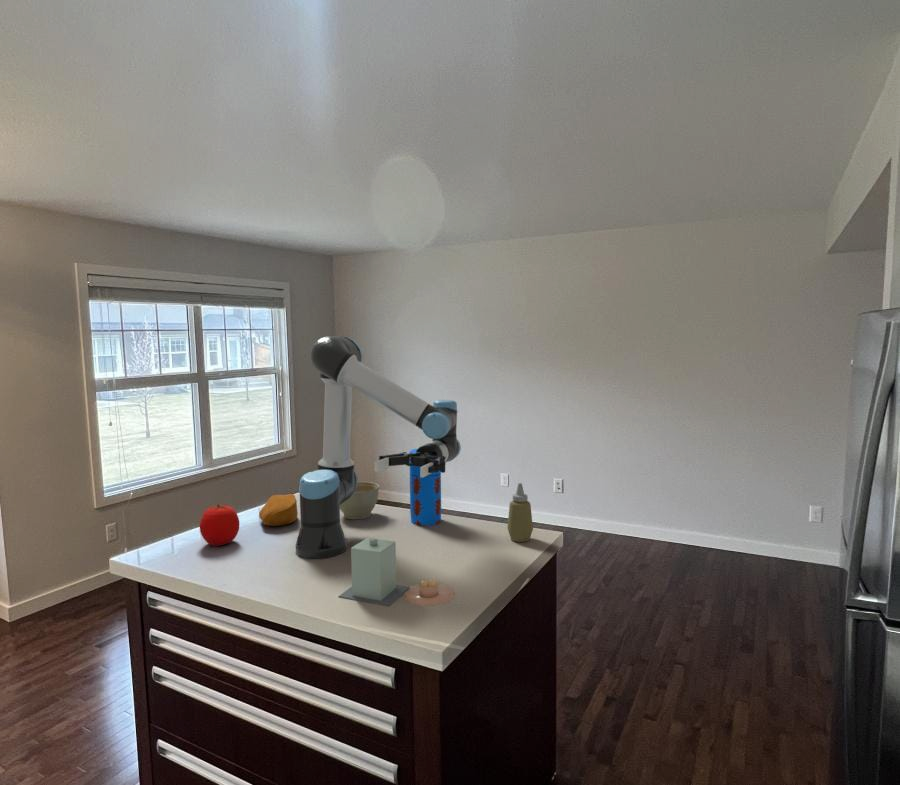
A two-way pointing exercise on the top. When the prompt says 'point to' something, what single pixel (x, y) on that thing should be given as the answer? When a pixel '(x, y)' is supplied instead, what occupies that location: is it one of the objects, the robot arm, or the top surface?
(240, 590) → the top surface
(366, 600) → the mat
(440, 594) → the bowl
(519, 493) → the squeeze bottle
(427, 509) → the thermos
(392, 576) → the cover
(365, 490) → the planter bowl
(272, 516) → the bread
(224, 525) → the red apple
